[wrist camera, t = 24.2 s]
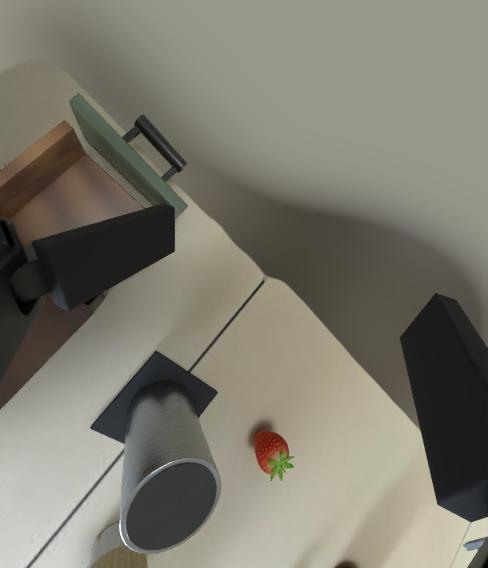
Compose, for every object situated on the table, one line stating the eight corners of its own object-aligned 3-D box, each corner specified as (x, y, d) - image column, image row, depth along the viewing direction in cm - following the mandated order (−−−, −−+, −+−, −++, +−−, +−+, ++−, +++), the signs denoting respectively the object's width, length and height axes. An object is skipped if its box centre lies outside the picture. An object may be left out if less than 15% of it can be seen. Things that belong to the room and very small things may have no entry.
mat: (90, 426, 30) (90, 428, 29) (156, 350, 32) (156, 351, 32) (164, 459, 34) (165, 462, 34) (216, 391, 37) (217, 392, 36)
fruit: (256, 416, 40) (282, 451, 33) (277, 424, 43) (305, 458, 35) (241, 445, 40) (264, 488, 33) (263, 451, 42) (289, 492, 35)
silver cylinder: (116, 400, 30) (101, 504, 18) (179, 369, 33) (205, 440, 21) (140, 450, 32) (141, 576, 20) (197, 417, 35) (231, 508, 23)
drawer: (120, 108, 27) (115, 64, 20) (199, 194, 31) (214, 179, 25) (-27, 230, 23) (-87, 220, 17) (89, 306, 27) (75, 321, 21)
